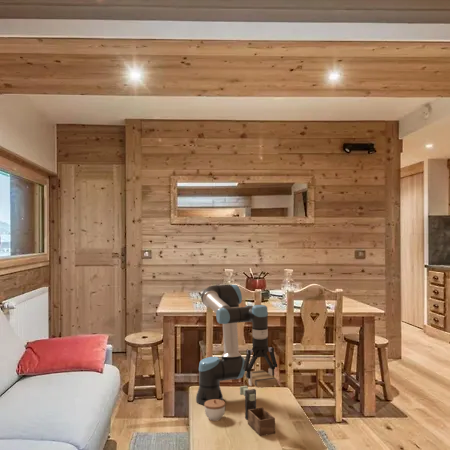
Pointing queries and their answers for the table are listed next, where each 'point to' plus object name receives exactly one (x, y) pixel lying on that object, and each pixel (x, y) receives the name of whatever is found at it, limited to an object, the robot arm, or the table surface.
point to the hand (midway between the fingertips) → (260, 383)
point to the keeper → (249, 402)
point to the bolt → (250, 395)
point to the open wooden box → (261, 421)
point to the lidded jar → (214, 409)
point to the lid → (262, 379)
